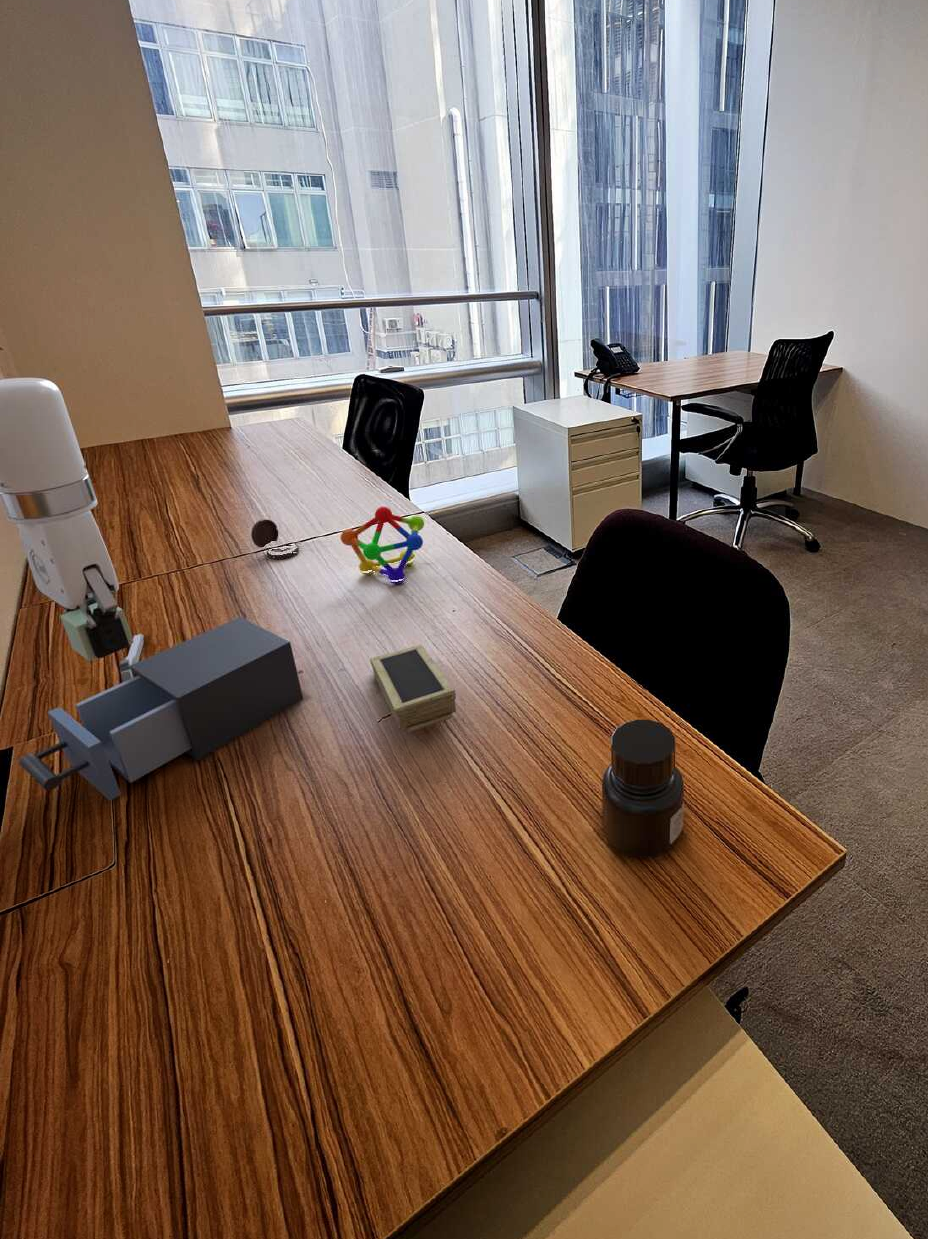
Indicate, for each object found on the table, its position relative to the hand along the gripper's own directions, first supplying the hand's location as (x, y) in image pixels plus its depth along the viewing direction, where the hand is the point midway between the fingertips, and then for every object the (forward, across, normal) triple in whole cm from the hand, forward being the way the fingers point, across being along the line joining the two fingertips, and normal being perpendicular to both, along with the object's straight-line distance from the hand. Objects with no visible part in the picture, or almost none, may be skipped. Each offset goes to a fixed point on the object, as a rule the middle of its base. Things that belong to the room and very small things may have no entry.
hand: (102, 643), depth 76 cm
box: (+18, +18, +27) cm, 37 cm away
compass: (+18, -44, +46) cm, 66 cm away
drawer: (+17, -1, -1) cm, 17 cm away
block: (0, 0, 0) cm, 0 cm away
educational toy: (+18, -14, +51) cm, 56 cm away
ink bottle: (+18, +58, +25) cm, 66 cm away
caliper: (+18, -23, +9) cm, 30 cm away
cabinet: (+17, -1, +11) cm, 21 cm away
